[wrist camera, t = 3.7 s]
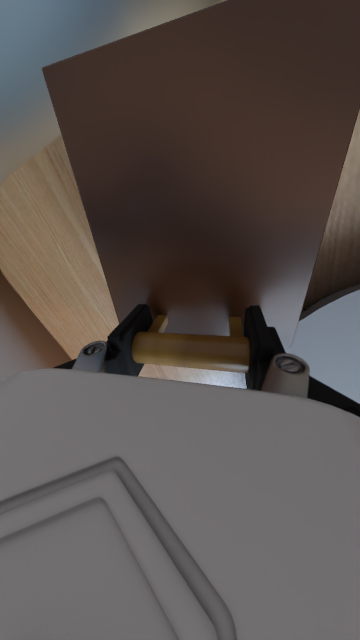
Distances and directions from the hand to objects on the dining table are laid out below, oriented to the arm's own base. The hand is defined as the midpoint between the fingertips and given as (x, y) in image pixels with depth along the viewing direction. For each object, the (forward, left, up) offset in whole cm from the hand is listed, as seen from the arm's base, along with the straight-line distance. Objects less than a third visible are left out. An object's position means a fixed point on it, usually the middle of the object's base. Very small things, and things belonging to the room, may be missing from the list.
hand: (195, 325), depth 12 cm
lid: (-4, +4, -2) cm, 5 cm away
